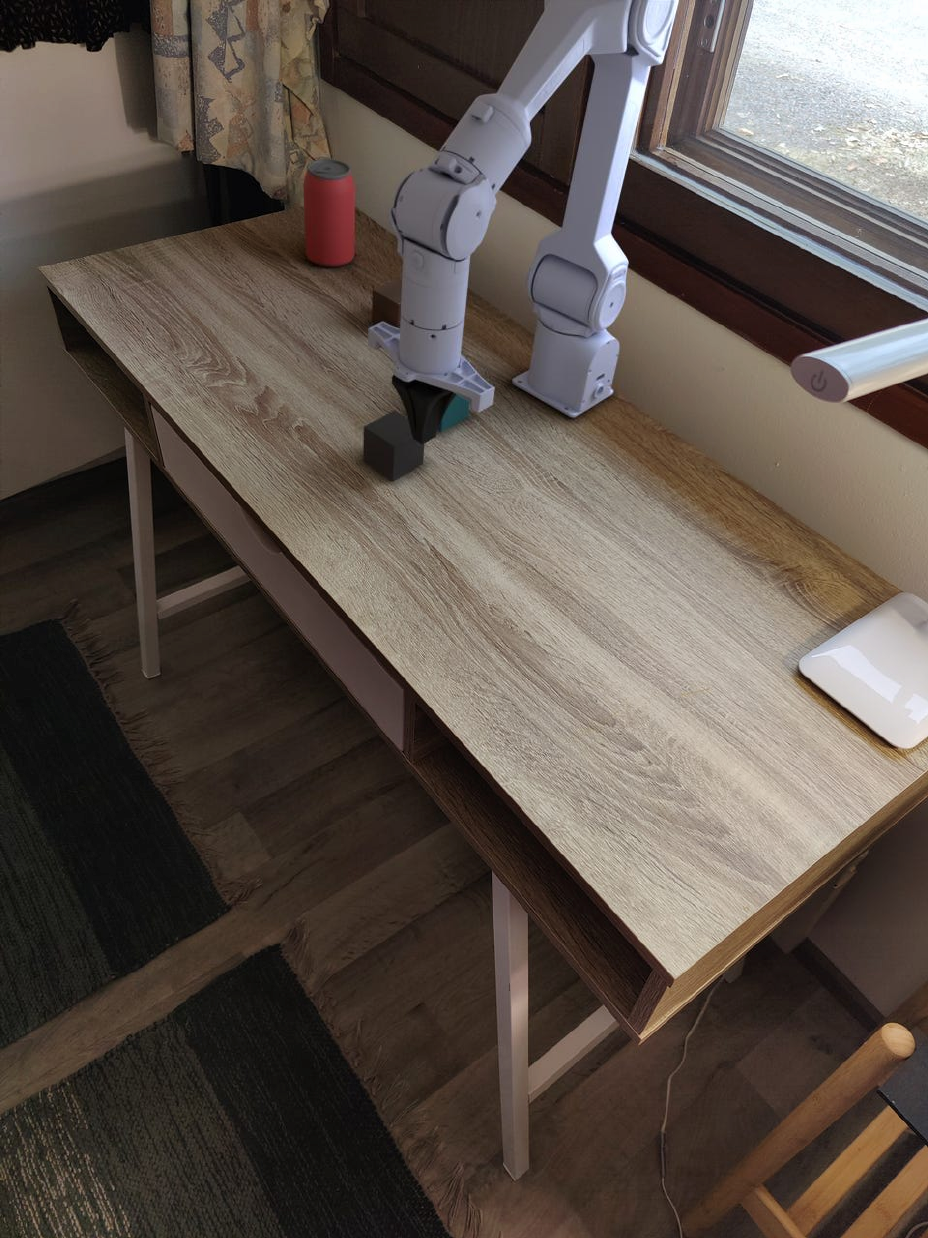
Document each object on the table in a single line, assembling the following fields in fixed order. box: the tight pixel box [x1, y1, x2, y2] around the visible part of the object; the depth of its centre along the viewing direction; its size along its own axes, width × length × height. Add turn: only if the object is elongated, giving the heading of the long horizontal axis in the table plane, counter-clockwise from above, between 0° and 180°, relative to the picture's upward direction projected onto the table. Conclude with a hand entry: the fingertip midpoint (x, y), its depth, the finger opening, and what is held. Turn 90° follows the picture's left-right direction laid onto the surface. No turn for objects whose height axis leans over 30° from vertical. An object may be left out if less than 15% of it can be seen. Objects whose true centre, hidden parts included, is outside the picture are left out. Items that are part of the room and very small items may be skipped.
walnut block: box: [371, 278, 402, 329], centre depth 118 cm, size 4×4×4 cm
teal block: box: [437, 395, 471, 433], centre depth 106 cm, size 4×4×4 cm
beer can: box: [302, 158, 356, 268], centre depth 126 cm, size 7×7×12 cm
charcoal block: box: [362, 409, 425, 483], centre depth 99 cm, size 4×4×4 cm
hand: (424, 437), depth 95 cm, fingers closed
